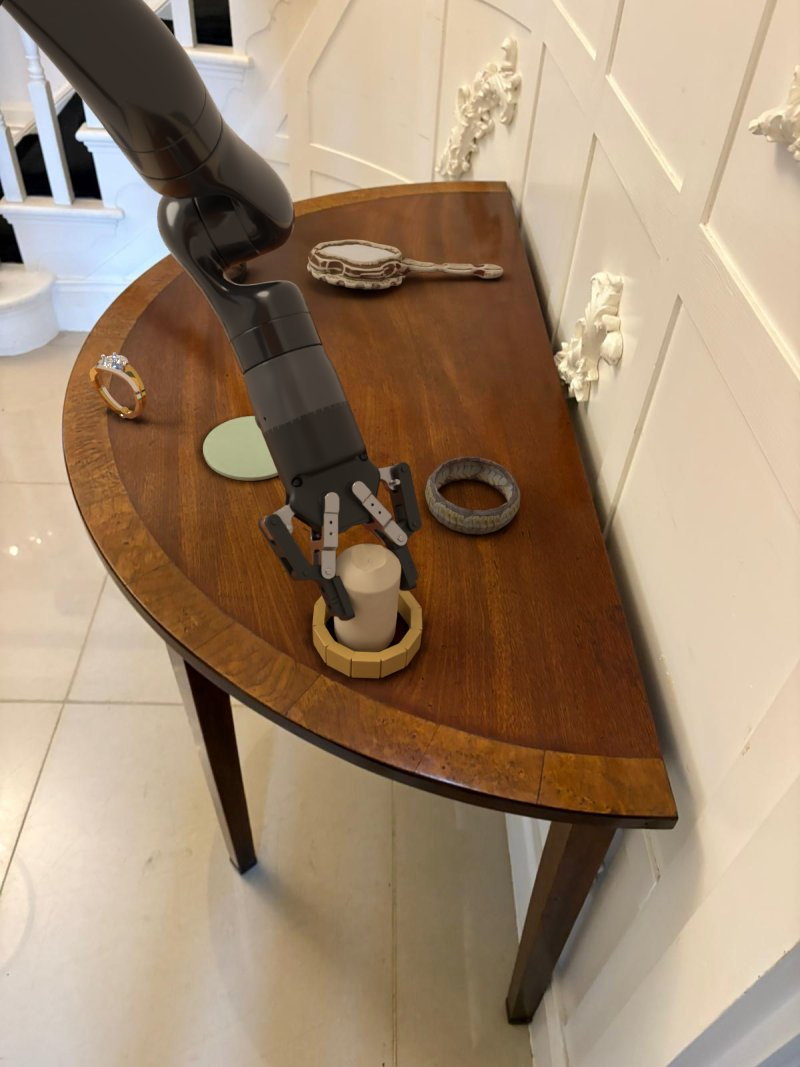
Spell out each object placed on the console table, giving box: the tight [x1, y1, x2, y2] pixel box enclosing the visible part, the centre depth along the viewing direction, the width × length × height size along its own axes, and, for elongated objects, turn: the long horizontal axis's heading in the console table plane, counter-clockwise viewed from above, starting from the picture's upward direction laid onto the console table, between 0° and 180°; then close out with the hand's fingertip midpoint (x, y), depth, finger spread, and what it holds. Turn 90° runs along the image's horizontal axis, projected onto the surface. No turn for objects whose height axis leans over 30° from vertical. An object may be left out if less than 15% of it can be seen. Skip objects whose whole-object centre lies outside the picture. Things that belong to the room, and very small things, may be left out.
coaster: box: [202, 415, 279, 482], centre depth 89 cm, size 11×11×1 cm
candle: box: [333, 543, 401, 652], centre depth 67 cm, size 6×6×10 cm
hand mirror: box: [306, 239, 504, 290], centre depth 117 cm, size 11×6×30 cm
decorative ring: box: [424, 456, 521, 535], centre depth 83 cm, size 10×3×10 cm
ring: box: [88, 351, 147, 420], centre depth 89 cm, size 7×3×8 cm, turn 57°
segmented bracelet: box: [312, 589, 423, 679], centre depth 70 cm, size 10×10×2 cm
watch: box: [230, 262, 247, 285], centre depth 115 cm, size 8×5×4 cm, turn 164°
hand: (378, 602), depth 66 cm, fingers closed on candle, 5 cm apart
